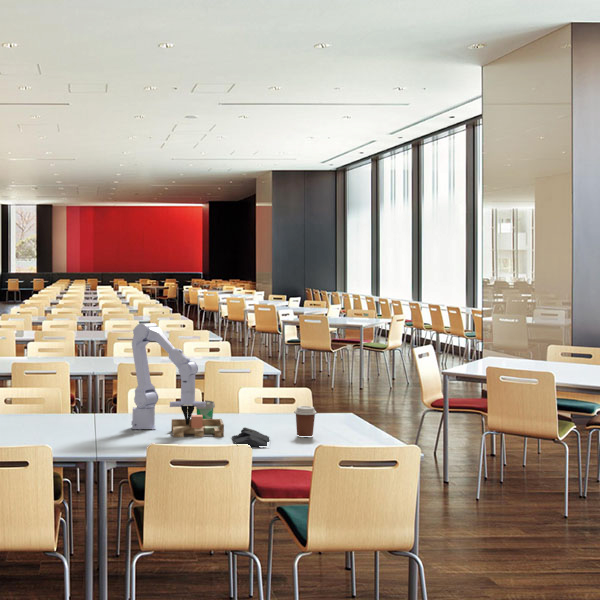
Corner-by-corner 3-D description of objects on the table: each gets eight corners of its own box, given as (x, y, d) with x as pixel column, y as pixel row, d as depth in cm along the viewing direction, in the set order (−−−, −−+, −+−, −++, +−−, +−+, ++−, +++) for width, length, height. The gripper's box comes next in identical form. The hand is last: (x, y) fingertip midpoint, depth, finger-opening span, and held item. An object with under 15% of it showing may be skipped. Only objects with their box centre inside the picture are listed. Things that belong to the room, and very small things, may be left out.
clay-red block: (191, 427, 341) (191, 416, 341) (190, 425, 345) (191, 414, 345) (202, 427, 342) (202, 416, 342) (201, 425, 346) (202, 414, 346)
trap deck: (172, 437, 333) (172, 424, 333) (171, 431, 346) (171, 419, 346) (223, 436, 336) (223, 424, 336) (221, 430, 349) (221, 418, 349)
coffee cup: (290, 435, 343) (290, 406, 343) (310, 433, 347) (311, 405, 347) (298, 439, 335) (299, 409, 335) (319, 438, 339) (320, 408, 338)
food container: (209, 428, 354) (210, 404, 354) (195, 427, 356) (196, 404, 355) (218, 423, 367) (218, 400, 366) (204, 422, 368) (205, 400, 368)
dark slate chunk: (230, 449, 314) (230, 436, 314) (231, 438, 336) (232, 426, 336) (271, 450, 315) (271, 437, 315) (269, 438, 337) (270, 427, 337)
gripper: (170, 392, 337) (169, 426, 338) (206, 392, 340) (205, 425, 340) (169, 390, 344) (169, 423, 345) (205, 390, 347) (204, 423, 347)
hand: (187, 424), depth 343 cm, fingers closed
